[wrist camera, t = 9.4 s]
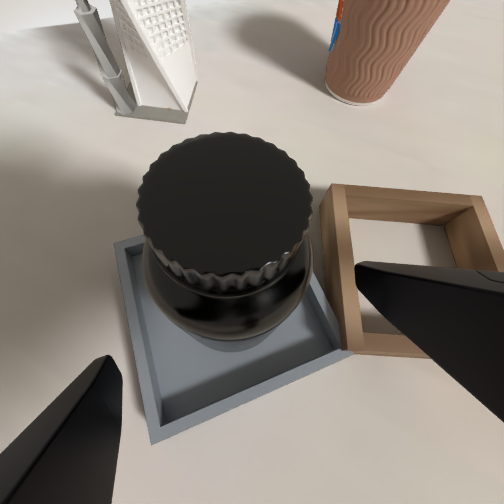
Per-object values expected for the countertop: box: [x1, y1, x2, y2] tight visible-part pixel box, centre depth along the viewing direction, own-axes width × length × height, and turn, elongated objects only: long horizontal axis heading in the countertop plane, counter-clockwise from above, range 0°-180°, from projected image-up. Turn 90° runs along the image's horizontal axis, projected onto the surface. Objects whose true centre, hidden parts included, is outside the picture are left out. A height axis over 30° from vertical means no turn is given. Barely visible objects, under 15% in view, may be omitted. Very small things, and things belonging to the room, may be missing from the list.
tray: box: [114, 235, 354, 445], centre depth 17 cm, size 12×12×2 cm
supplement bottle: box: [136, 132, 313, 353], centre depth 12 cm, size 7×7×12 cm
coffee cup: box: [325, 0, 450, 106], centre depth 24 cm, size 10×10×12 cm
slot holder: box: [320, 183, 504, 359], centre depth 19 cm, size 12×12×3 cm
